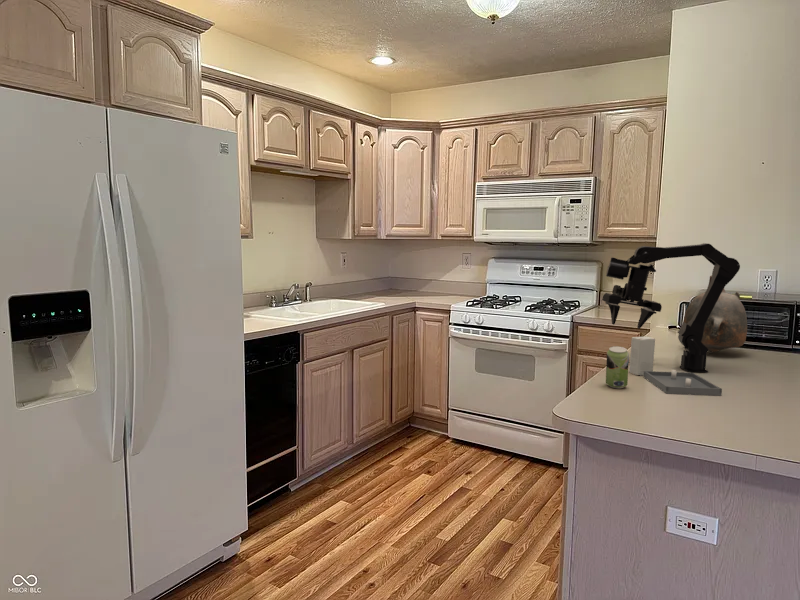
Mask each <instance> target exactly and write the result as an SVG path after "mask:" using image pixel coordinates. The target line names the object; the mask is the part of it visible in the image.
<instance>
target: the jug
mask: <svg viewBox="0 0 800 600" xmlns="http://www.w3.org/2000/svg"><path fill="white" fill-rule="evenodd" d="M711 278H712V275H710V276H709V280H708V281H709V282H708V286H709V284H710V282H711ZM708 286H707V287H708ZM704 294H705V292H702V293H700V294H698V295H697V296H695V297H694V298H693V299H692V300H691V301H690V303H689V304H688V307H687V308H686V311H685V314H684V318H683V321H682V323H683V322H685V323H686V324H687V323H688V322H689V321H690V320H691V319H692V318H693V316H694V314H695V312H696V310H697V308H698V306H699V304H700V302H701V300H702V298H703V296H704ZM740 298H741V295H740V293H739V292H738V291H735V293H734V294H732V293H727V291H726V290H725V288H724V289H723V291H722V293H721V295H720V297H719V299H718V301H717V302H716V304H715V306H714V308H713V310H712V312H711V314H710V316H709V318H708V320H707V322H706V324H705V327H704V334H703V338H702V341H701V342H702V343H703V344H704V345H705V346H706V347H707V348H708V352H707V353H710V354H713V353H717V352H719V351H722V350H727V349H735V348H739V347H742V346H743V345H744V344H745V342H746V340H747V335H748V318H747V317H748V316H747V313H746V312H747V311H746V308H745V306H744V304H743V303H742V301H741V300H740Z"/></svg>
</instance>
